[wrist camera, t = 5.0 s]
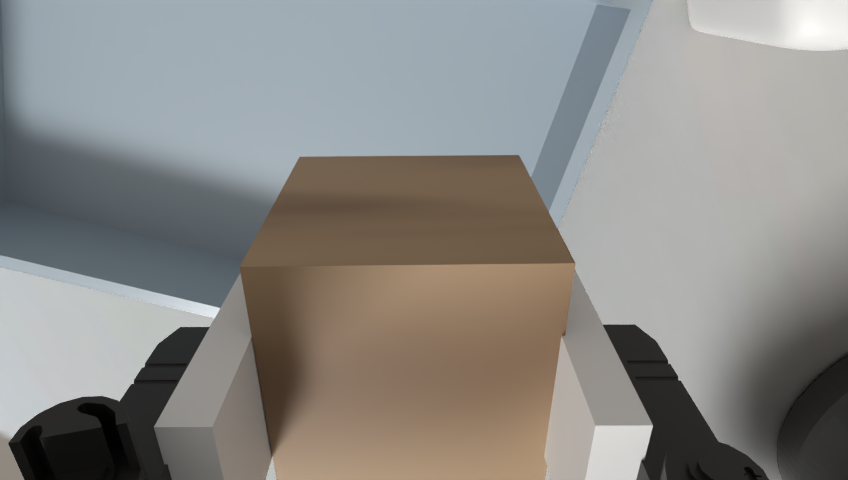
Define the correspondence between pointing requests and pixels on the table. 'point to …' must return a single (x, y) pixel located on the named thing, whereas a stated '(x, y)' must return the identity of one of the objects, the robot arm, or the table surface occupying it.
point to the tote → (268, 117)
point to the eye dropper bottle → (775, 22)
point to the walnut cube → (408, 318)
